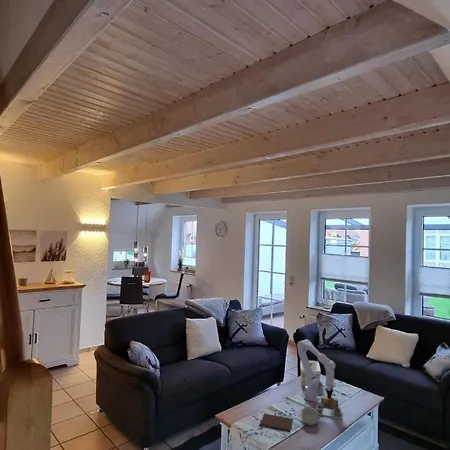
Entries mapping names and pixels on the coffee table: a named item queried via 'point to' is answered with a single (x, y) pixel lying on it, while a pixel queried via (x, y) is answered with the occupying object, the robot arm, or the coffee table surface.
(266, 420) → the notebook
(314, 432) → the coffee table surface
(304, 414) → the teacup
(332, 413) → the board
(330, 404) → the tan wooden block
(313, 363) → the storage basket
